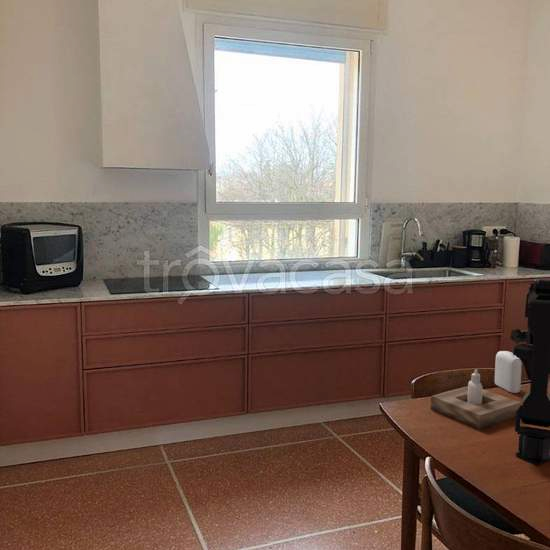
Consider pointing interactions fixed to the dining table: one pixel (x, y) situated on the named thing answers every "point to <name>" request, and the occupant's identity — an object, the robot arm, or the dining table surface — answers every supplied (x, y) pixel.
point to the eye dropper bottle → (475, 390)
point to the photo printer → (508, 371)
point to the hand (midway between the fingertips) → (540, 376)
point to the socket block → (475, 407)
